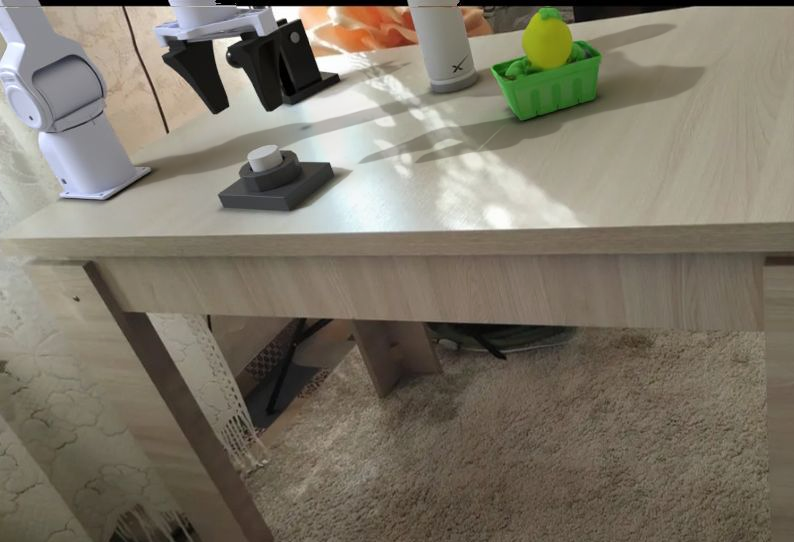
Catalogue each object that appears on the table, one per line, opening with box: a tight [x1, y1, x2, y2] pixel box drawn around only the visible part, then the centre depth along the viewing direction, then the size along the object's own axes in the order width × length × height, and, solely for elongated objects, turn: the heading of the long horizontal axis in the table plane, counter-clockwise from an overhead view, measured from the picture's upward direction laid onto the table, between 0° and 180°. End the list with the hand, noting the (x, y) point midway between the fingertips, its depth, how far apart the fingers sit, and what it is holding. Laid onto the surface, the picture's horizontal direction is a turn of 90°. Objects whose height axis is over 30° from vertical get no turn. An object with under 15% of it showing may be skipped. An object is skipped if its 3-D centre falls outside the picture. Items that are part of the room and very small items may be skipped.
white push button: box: [246, 144, 283, 172], centre depth 83 cm, size 3×3×2 cm
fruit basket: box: [490, 6, 603, 121], centre depth 85 cm, size 11×9×11 cm
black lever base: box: [276, 17, 342, 106], centre depth 112 cm, size 9×7×10 cm
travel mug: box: [407, 0, 478, 94], centre depth 96 cm, size 6×7×20 cm
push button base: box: [217, 149, 335, 212], centre depth 85 cm, size 10×8×4 cm
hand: (247, 109), depth 80 cm, fingers open, 7 cm apart
